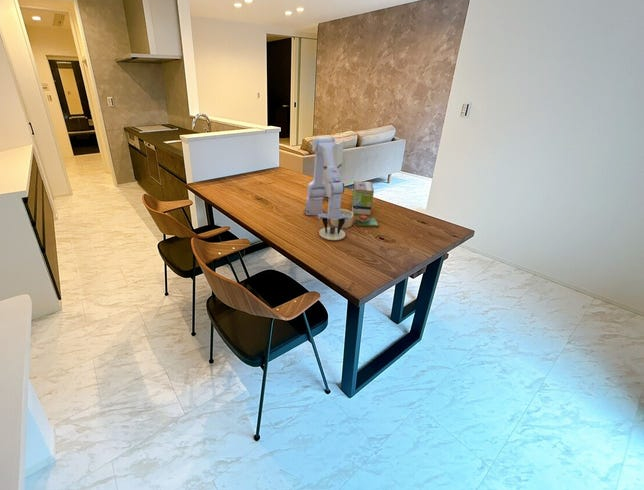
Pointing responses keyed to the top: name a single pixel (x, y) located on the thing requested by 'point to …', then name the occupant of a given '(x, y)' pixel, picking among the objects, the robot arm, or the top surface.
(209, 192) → the top surface
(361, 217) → the button
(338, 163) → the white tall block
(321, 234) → the tin lid
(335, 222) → the tin
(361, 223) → the release base
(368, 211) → the tea box
